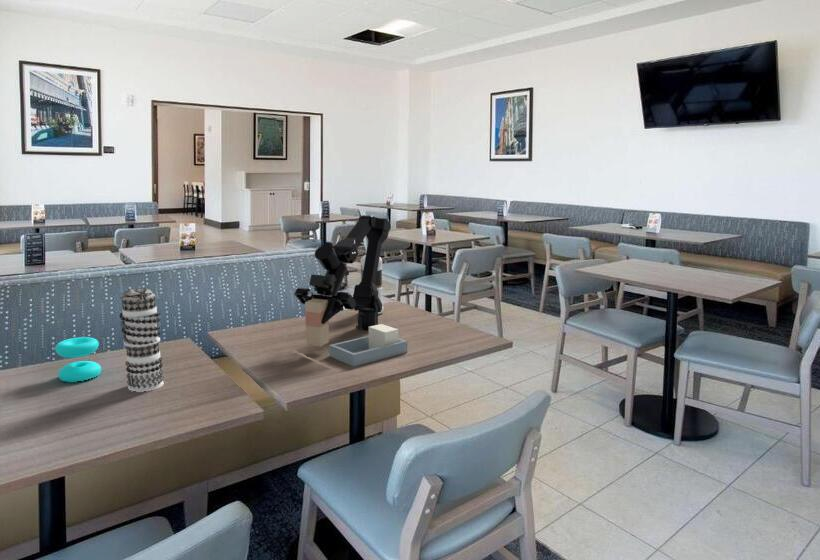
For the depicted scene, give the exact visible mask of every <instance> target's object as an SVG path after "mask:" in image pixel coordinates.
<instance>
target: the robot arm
mask: <svg viewBox="0 0 820 560" xmlns="http://www.w3.org/2000/svg"><path fill="white" fill-rule="evenodd" d="M391 227H392V226H391V222H390V221H389V220H388V218H385V217H377V216H374V215H360V216H359V217H358V221H357V222H356V224H355V225H354V226H353V228H352V229H351V230H350V231H349V233H348V235H347V236H346V237H345V238H344V239H341V240H339V241H337V243H335V244H334V245H333V243H332V242H330V241H329V242H328V241H325V243H324V244H323V245H321V246H319V247H317V249H315V251H314V257H315V258H316V260H317V261H318V263H319V265H321V267H322V268H323V270H324V271H326V272H325V274H324V275H322V274H321V275H319V274H311V275H310V279H309V282H308V285H309V286H312V287H314V288H313V290H314V291H315V292H316V293H314V292H312V290H311V289H310V288H309V287H308V288H307V287H297V288H296V289H295V291H294V293H293V295H294V296H295V297H296V299H298V301H299V303H301V304H302V305H305V302H307V301H309V300H312V299H323V300H328V307H327V309H326V311H325V313H324V316H323V318H322V322H321V323H322V324H325V323H326V322H327V321H328V320H329V321H330V320H331V319H332V318H333V317H334V316H335V315H337V314H338V313H340V312H341V311H342V312H343V311H344V310H352V311H353V310H354V311H356V312H357V311H358V315H357V325H355V328H358V329H360V330H362V331H369V327H370V326H375V325H379V315H378V312H381V310H382V303H381V301H380V299H379V298H378V290H377V287H376V285H375V282H376V276H377V270H378V264H379V258H380V257H381V251H382V246H383V244H384V242H385V241H386V240H387V238H388V237H389V233H390V231H391ZM365 238H366V240H367V247H366V253H365V255H366V257H365V263H364V269H363V275H362V280H361V279H360V282H359V283H358V284H355V285H354V287H353V289H354V290H353V295H352V294H351V292H346V291H342V289H343V286H342V284H343V281H344V278H345V276H349V275H350V273H349V269H348V266H346V264H351V265H352V264H353V263H354V262H355V261H356V259H357V257H358V256H359V250H358V249H359V247H360V245H361V244H362V242H363V241H364V239H365Z"/></svg>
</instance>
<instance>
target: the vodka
mask: <svg viewBox="0 0 820 560" xmlns="http://www.w3.org/2000/svg"><path fill="white" fill-rule="evenodd" d="M365 257H366V254H364V255H363V256H362V257H361V258H360V261H359V262H360V281H361V280H362V275H363V269H364V263H365ZM375 285H376V287H377V290H378V298H379V299H380V301H381V303H382V310H381V312H378V316H379V315H381V314H383V313H384V310H385V309H384V304H383V287H382V286H383V259H382V257H381V256H380V258H379V264H378V270H377V276H376V282H375Z"/></svg>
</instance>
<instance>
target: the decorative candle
mask: <svg viewBox="0 0 820 560" xmlns="http://www.w3.org/2000/svg"><path fill="white" fill-rule="evenodd" d="M156 296H157V295H156V294H155V293H153V291H152V290H151V289H148V288H140V287H139V288H131V289H128V290H126V291H124V293H123V295H122V296H121V297H120V299H121V302H122V303H121V304H122V305H121V306H122V310H121V311H122V312H121V313H120V314H119V316H118V317H119V318H120V320H121V322H120V327H121V332H122V334H123V335H122V340H123V345H124V346H125V348H126V349H125V350H126V357H125V358H126V361H125V366H126V368H125V370H126V372H127V374H126V375H125V377H126V379H127V381H126V384H127V385H128V387H127V390H128V389H129V390H128V391H130V390H131V391H130V392H133V391H136V392H135V393H144V391H146V392H151V390H152V391H154V390H158V389H160V388H162V387H163V386H164V384H165V383H164V369H162V368H163V363H162V361H163V358H162V356H161V350H160V345H159V344H160V342H161V337H160V335H161V334H162V332H160V331H159V330H160V329H161V325H159V324H158V322H160V321H161V318H159V316H161V312H159V311H158V310H157V309H158V307H157V305H156Z"/></svg>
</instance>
